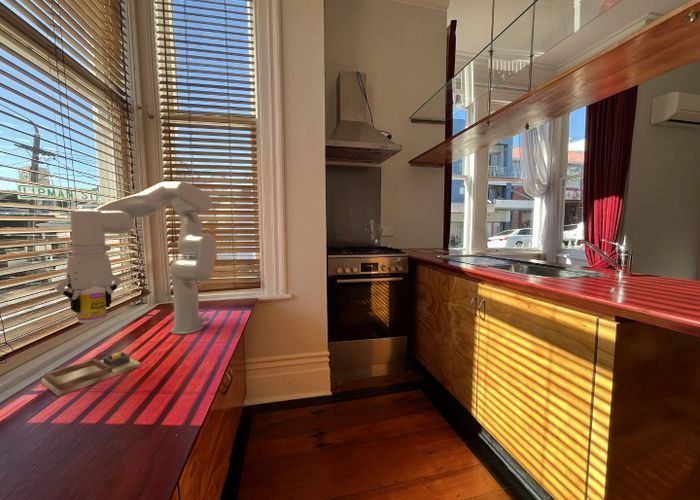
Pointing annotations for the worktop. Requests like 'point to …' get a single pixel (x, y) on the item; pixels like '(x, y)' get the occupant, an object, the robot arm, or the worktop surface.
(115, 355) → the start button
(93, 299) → the supplement bottle
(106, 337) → the worktop surface
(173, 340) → the worktop surface
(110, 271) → the robot arm
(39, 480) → the worktop surface
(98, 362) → the beige tray
